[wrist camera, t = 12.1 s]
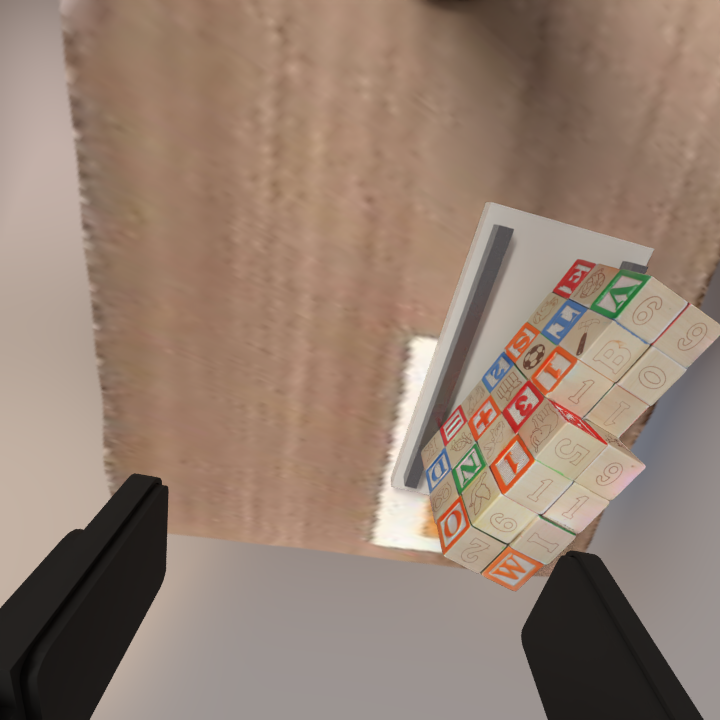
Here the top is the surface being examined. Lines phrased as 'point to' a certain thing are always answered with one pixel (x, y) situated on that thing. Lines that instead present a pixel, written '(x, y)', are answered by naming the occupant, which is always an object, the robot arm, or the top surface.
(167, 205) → the top surface
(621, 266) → the base board
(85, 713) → the robot arm
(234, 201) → the top surface
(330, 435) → the top surface
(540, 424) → the stack of blocks
